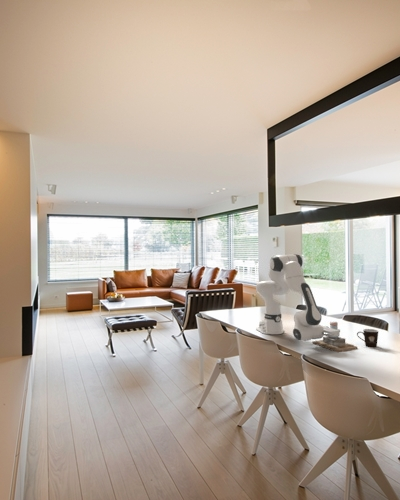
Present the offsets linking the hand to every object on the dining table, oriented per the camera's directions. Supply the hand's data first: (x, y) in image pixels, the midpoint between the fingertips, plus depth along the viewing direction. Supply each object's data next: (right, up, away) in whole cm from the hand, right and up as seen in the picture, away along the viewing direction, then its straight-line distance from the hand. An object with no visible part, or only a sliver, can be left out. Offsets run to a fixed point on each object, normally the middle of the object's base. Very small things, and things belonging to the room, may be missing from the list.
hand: (333, 329), depth 216 cm
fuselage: (0, -10, 0) cm, 10 cm away
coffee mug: (+22, -11, 0) cm, 25 cm away
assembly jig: (0, -11, 0) cm, 11 cm away
